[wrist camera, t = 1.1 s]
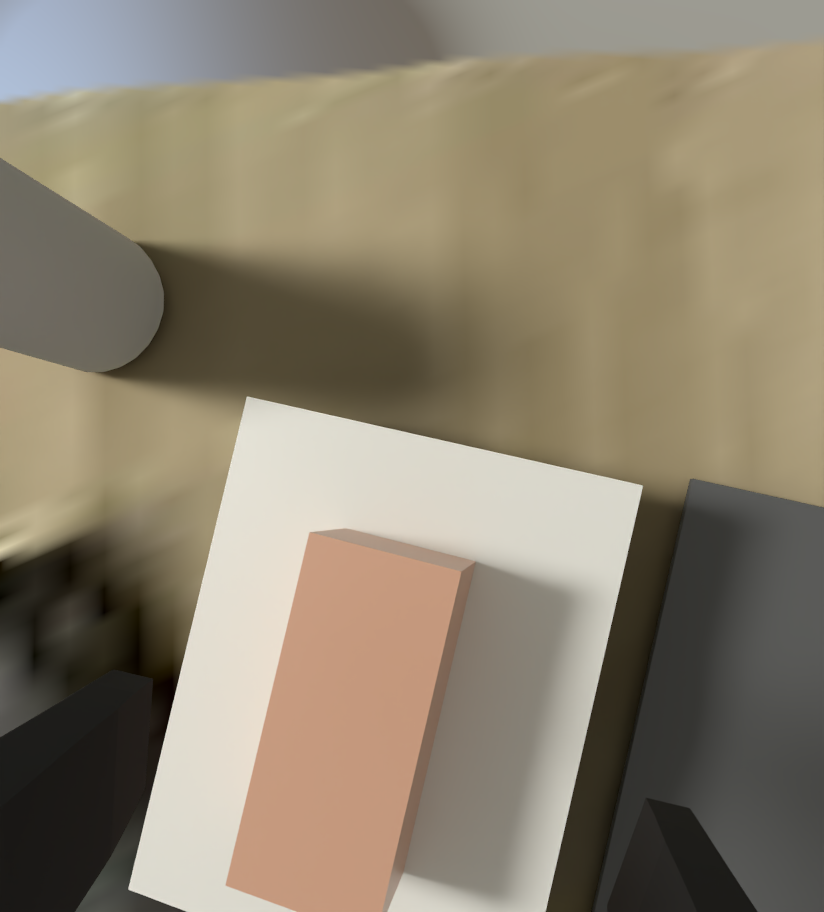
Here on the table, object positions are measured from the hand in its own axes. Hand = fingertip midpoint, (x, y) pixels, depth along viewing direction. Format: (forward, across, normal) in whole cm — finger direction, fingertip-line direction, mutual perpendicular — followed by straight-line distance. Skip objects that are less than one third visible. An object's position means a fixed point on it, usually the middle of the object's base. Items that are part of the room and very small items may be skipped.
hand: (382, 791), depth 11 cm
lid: (+9, +1, +5) cm, 11 cm away
